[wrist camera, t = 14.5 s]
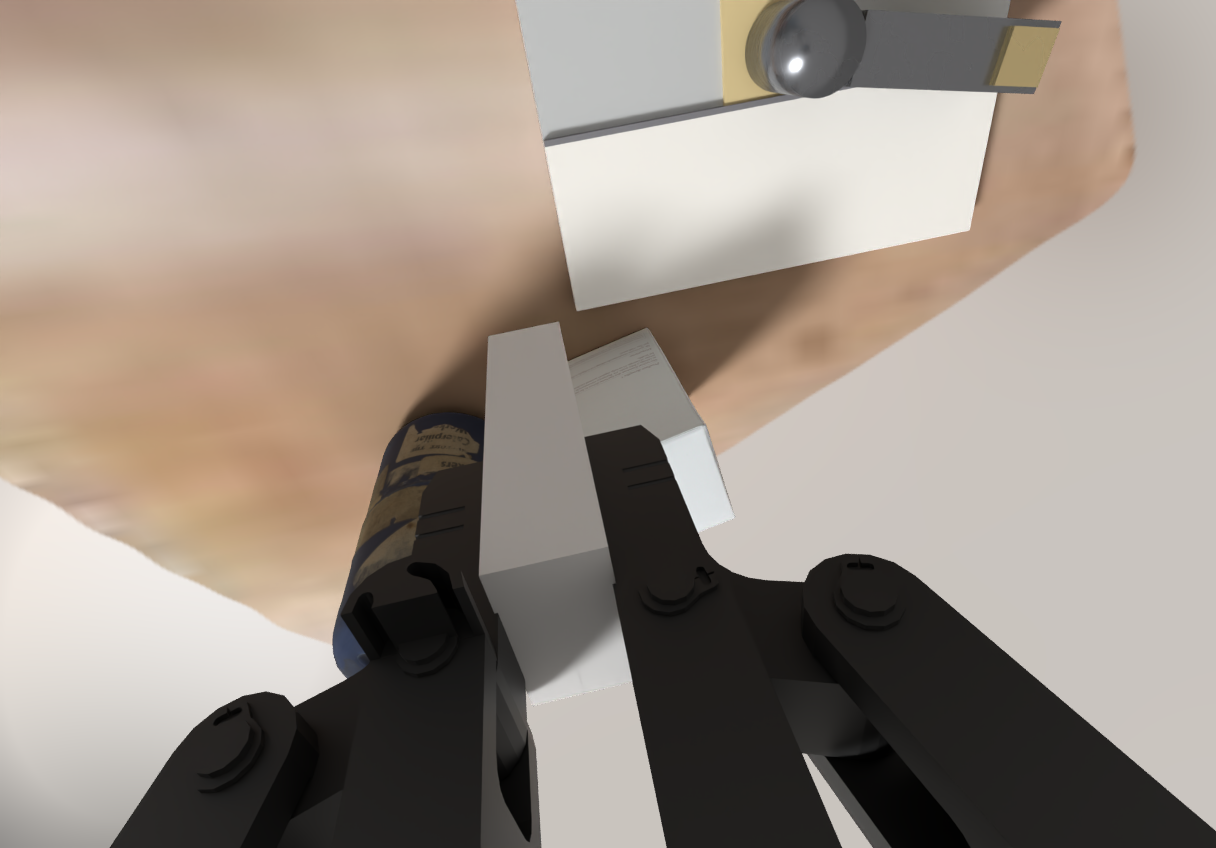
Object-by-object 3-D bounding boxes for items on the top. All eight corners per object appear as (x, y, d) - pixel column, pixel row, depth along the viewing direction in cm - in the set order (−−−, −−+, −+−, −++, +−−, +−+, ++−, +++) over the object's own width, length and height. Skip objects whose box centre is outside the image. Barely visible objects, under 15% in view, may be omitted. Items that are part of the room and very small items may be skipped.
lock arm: (739, 91, 30) (773, 97, 27) (752, -3, 28) (791, -11, 24) (974, 99, 33) (1036, 106, 29) (1003, 12, 30) (1075, 7, 27)
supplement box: (590, 443, 44) (618, 567, 33) (551, 364, 40) (569, 477, 29) (680, 407, 43) (738, 521, 33) (651, 323, 39) (706, 423, 29)
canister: (507, 394, 40) (511, 596, 25) (527, 496, 46) (540, 714, 31) (367, 413, 39) (287, 635, 24) (404, 515, 45) (356, 749, 30)
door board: (505, -53, 27) (505, -67, 24) (1021, -143, 28) (1093, -169, 25) (574, 302, 37) (581, 328, 34) (953, 224, 39) (998, 241, 35)
